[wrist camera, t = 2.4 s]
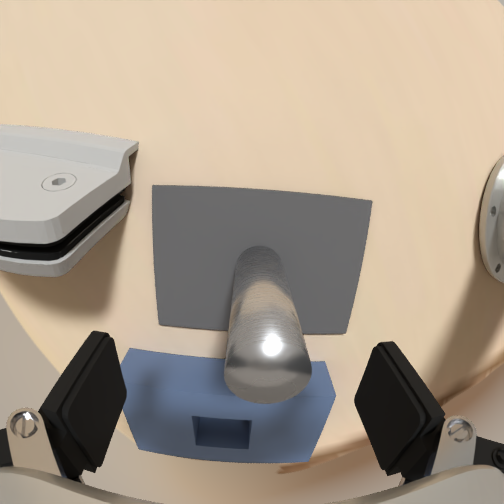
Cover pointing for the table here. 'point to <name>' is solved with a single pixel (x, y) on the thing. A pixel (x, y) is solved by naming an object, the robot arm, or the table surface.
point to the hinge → (58, 195)
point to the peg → (264, 332)
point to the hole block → (218, 412)
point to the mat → (255, 234)
